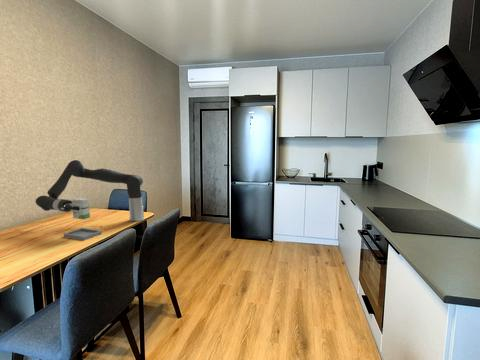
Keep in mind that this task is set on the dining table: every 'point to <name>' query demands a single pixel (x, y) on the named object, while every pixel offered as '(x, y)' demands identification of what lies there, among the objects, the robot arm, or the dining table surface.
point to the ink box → (81, 208)
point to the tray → (82, 233)
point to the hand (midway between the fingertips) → (83, 207)
